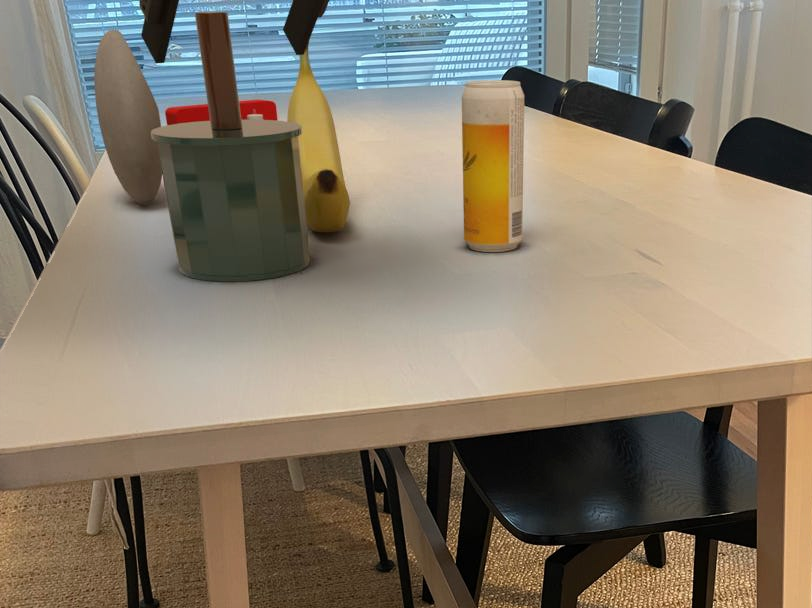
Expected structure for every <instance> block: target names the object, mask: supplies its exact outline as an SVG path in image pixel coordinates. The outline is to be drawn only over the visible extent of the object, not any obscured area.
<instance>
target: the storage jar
mask: <svg viewBox="0 0 812 608" xmlns="http://www.w3.org/2000/svg"><path fill="white" fill-rule="evenodd" d="M157 146H158V151H159V157H160V163H161V169H162V180H163V185H164V192H165V198H166V203H167V209H168V215H169V219H170V220H169V222H170V226H171V232H172V237H173V244H174V250H175V255H176V261H177V265H178V270H179V272H180V274H181V275H184V276H186V277H187V278H191V279H196V280H201V281H208V282H230V283H231V282H251V281H253V282H254V281H260V280H261V281H262V280H269V279H275V278H280V277H284V276H289V275H292V274H295V273H298V272H300V271H303V270H304V269H306V268H307V267H308V266H309V264H310V258H311V256H310V245H309V244H310V243H309V233H308V223H307V222H306V213H305V203H304V194H303V184H302V174H301V164H300V154H299V144H298V137H295V138H291V139H287V140H282V141H275V142H267V143H258V144H245V145H225V146H188V145H173V144H165V143H159V142H157Z"/></svg>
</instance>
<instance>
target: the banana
mask: <svg viewBox="0 0 812 608" xmlns="http://www.w3.org/2000/svg"><path fill="white" fill-rule="evenodd" d="M309 44H310V41H309V42H308V45H307V47H306V50H305V52H304V55H298V56H299V70H298V74H297V78H296V82H295V85H294V87H293V90H292V92H291V94H290V98H289V101H288V107H287V120H286V122H293V123H297V124H299V125H301V126H302V134H301V135H300V136H298V144H299V154H300V164H301V174H302V184H303V194H304V203H305V213H306V223H307V226H308V227H309V228H310V229H311V230H312V231H314V232H317V233H333V232H338V231H341V230H342V229H343V228H345V226H346V223H347V220H348V215H349V211H350V207H351V200H350V195H349V191H348V190H347V186H346V182H345V177H344V172H343V165H342V160H341V153H340V148H339V143H338V138H337V132H336V126H335V122H334V117H333V114H332V110H331V108H330V105H329V102H328V99H327V97H326V95H325V94H324V91H323V90H322V89H321V86H320V85H319V83H318V82H317V80H316V77H315V75H314V73H313V70H312V67H311V63H310V62H311V61H310V56H309V46H310V45H309Z"/></svg>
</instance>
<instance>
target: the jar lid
mask: <svg viewBox="0 0 812 608" xmlns="http://www.w3.org/2000/svg"><path fill="white" fill-rule="evenodd" d="M194 18H195V26H196V31H197V32H196V33H197V39H198V46H199V52H200V53H199V54H200V61H201V66H202V74H203V80H204V87H205V94H206V101H207V104H208V109H209V116H210V121H200V122H189V123H180V124H173V125H167V124H166V125H163V126H162V125H161V127H158V128H155V129H153V130H152V131H151V138H152V140H153V141H156V142H159V143H165V144H173V145H188V146H225V145H245V144H258V143H267V142H275V141H282V140H287V139H291V138H295V137H298V136H300V135H301V134H302V126H301V125H299V124H297V123H293V122H287V120H286V121H285V120H278V121H276V120H241V113H240V105H239V101H240V98H239V90H238V83H237V82H238V81H237V75H236V66H235V60H234V51H233V44H232V43H233V42H232V36H231V27H230V20H229V12H228V11H196V12H194Z"/></svg>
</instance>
